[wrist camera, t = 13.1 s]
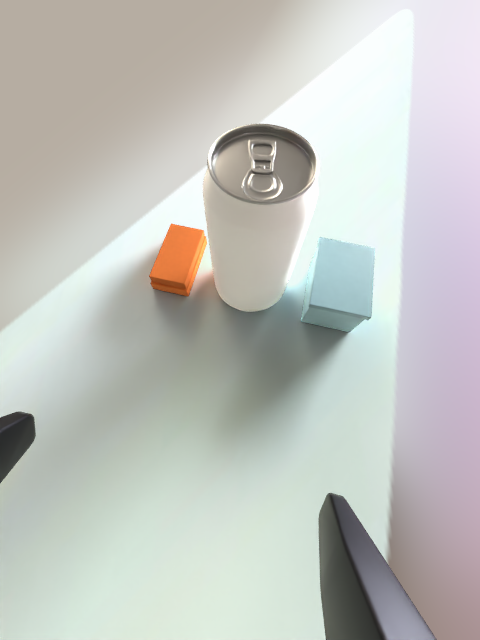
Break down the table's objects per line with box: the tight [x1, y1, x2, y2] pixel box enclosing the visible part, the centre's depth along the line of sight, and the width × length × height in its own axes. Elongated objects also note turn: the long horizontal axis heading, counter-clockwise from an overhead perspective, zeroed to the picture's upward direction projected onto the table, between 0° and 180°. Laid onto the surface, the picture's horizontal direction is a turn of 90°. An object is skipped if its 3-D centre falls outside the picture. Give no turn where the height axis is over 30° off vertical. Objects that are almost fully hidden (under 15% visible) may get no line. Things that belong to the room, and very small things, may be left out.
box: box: [301, 237, 375, 332], centre depth 23 cm, size 6×4×4 cm
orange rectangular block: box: [149, 224, 207, 296], centre depth 24 cm, size 6×3×2 cm, turn 167°
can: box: [203, 124, 319, 312], centre depth 19 cm, size 6×6×12 cm
